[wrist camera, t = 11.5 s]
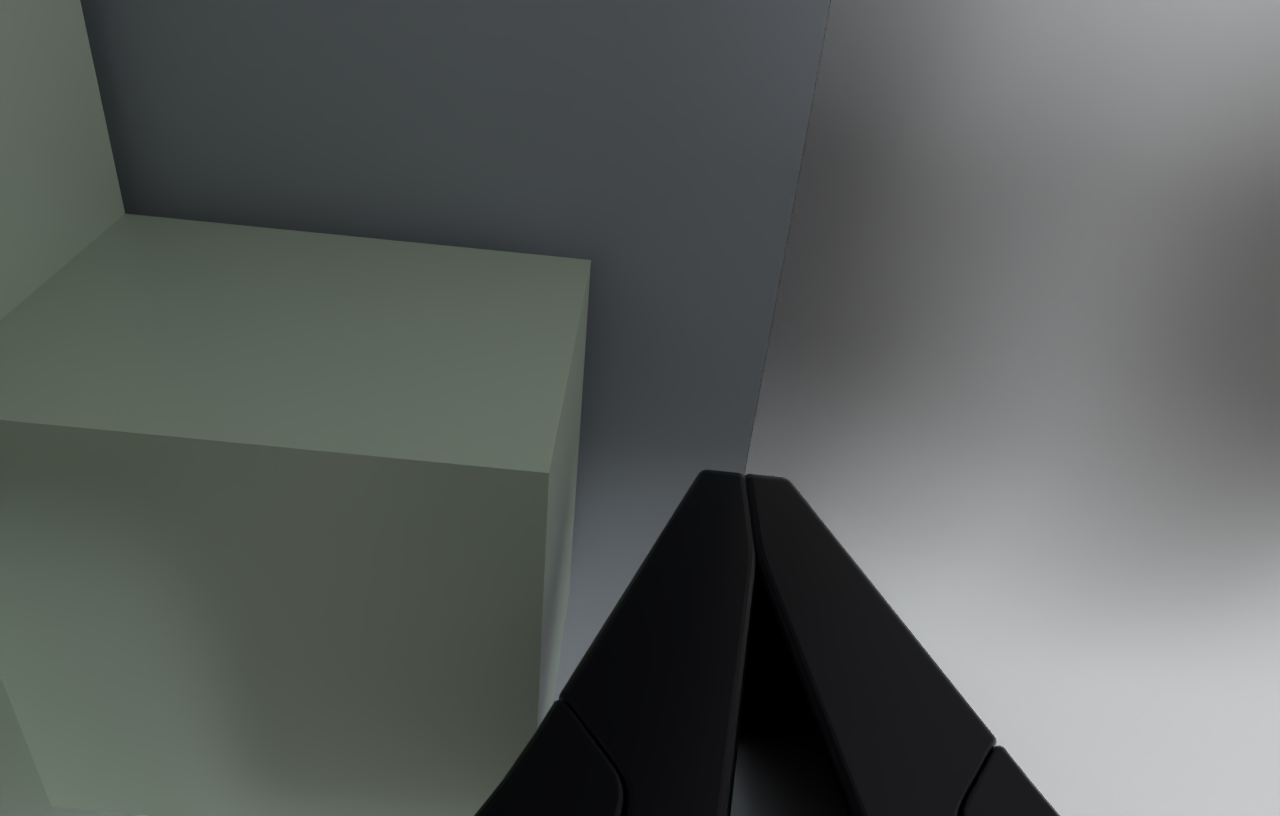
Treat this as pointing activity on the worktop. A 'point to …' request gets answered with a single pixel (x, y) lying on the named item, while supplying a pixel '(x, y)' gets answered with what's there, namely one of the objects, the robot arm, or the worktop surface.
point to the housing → (264, 491)
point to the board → (512, 187)
